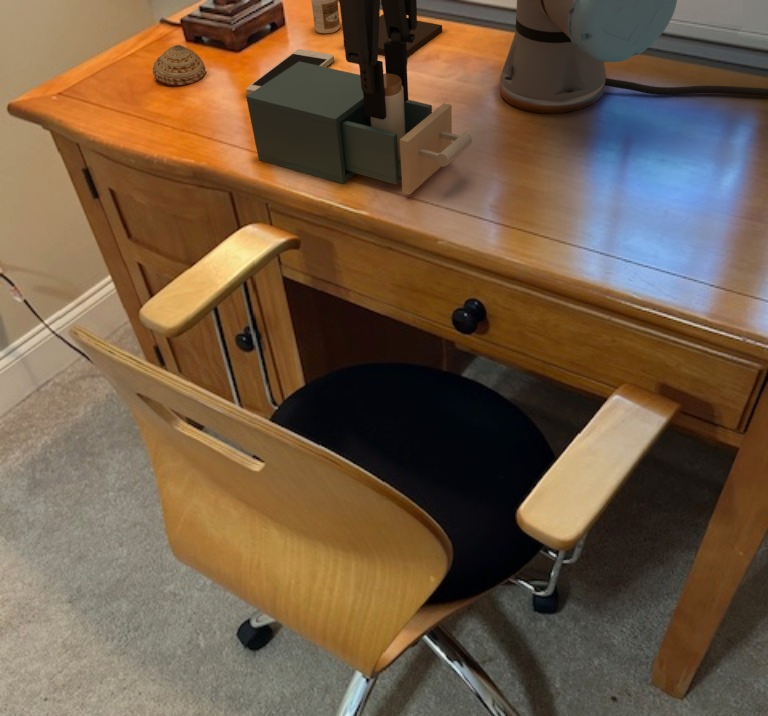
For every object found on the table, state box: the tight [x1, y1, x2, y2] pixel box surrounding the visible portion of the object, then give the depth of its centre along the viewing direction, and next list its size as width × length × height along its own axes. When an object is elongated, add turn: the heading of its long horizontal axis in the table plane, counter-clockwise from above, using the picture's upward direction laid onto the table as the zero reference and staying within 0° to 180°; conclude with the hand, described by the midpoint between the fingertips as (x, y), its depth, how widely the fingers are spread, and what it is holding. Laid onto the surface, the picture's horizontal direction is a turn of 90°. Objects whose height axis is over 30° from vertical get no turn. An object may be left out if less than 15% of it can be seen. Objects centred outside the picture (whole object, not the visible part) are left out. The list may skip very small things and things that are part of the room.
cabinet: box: [245, 61, 364, 185], centre depth 107 cm, size 15×12×9 cm
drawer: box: [340, 99, 473, 195], centre depth 102 cm, size 18×10×7 cm, turn 56°
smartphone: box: [245, 48, 335, 95], centre depth 126 cm, size 7×16×1 cm, turn 151°
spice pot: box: [370, 73, 406, 161], centre depth 101 cm, size 4×4×9 cm
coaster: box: [368, 13, 443, 58], centre depth 132 cm, size 12×12×1 cm
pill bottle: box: [310, 0, 341, 34], centre depth 134 cm, size 4×4×8 cm
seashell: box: [152, 44, 206, 86], centre depth 129 cm, size 8×6×8 cm
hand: (386, 107), depth 100 cm, fingers closed on spice pot, 4 cm apart
